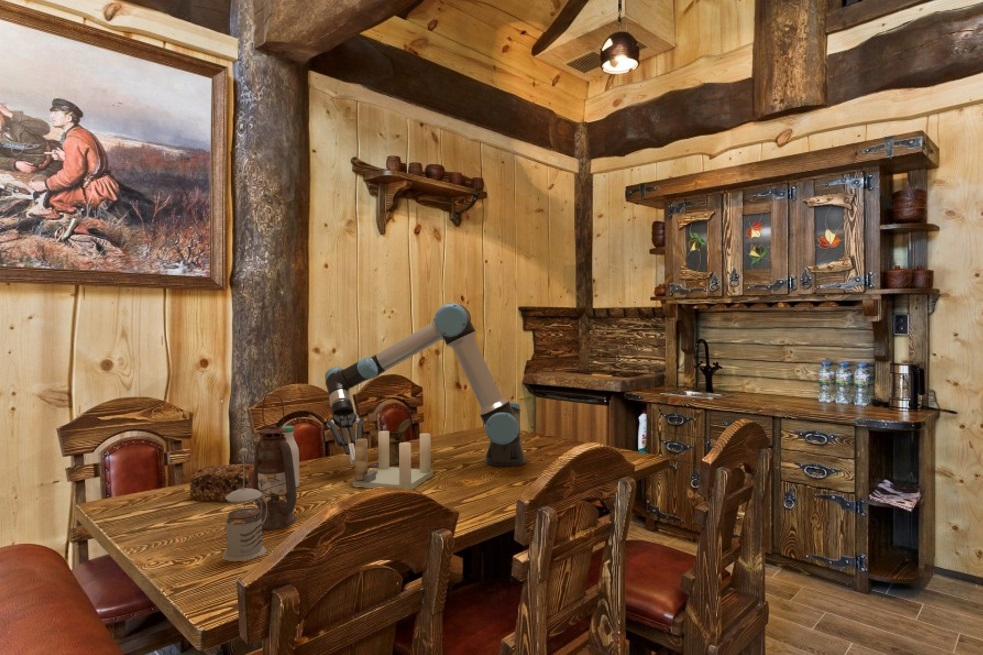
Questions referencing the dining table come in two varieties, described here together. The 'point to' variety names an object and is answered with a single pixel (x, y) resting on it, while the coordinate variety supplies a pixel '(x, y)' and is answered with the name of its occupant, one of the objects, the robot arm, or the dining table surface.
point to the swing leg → (362, 460)
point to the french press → (244, 525)
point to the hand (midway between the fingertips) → (353, 461)
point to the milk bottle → (294, 451)
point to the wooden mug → (397, 441)
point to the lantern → (274, 460)
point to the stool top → (404, 473)
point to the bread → (220, 481)
